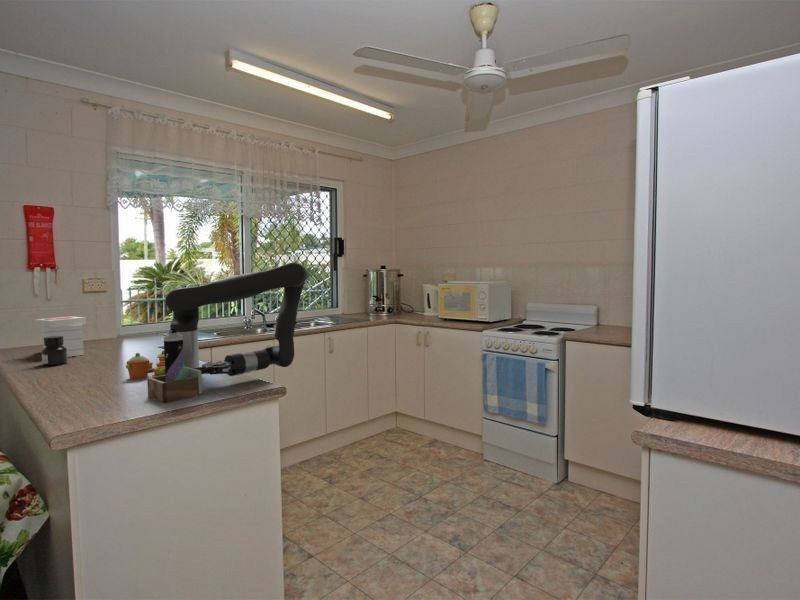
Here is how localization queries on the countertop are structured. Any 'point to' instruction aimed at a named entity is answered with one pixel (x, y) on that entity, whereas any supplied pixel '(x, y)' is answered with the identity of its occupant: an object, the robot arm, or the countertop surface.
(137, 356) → the toy tea set
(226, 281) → the robot arm
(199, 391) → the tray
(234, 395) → the countertop surface
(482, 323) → the countertop surface
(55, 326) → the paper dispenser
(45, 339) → the ink bottle
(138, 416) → the countertop surface
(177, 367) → the spray can
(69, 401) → the countertop surface
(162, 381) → the frame
